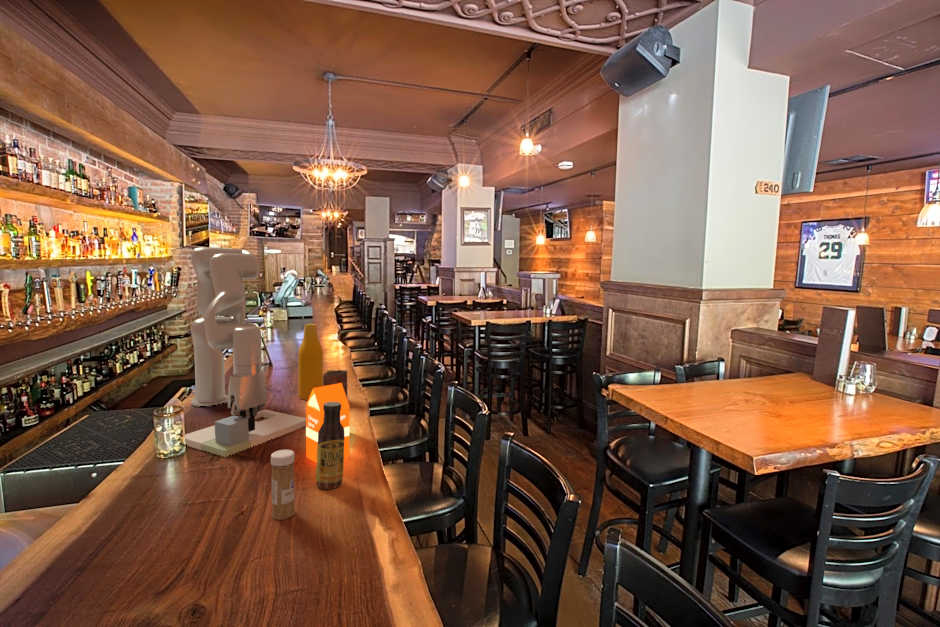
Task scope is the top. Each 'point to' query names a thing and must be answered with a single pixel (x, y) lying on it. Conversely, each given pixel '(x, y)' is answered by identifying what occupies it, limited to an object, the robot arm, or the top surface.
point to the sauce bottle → (330, 448)
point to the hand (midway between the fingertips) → (248, 430)
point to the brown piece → (336, 378)
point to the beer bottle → (310, 362)
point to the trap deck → (262, 433)
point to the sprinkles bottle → (283, 484)
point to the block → (231, 430)
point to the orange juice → (317, 416)
